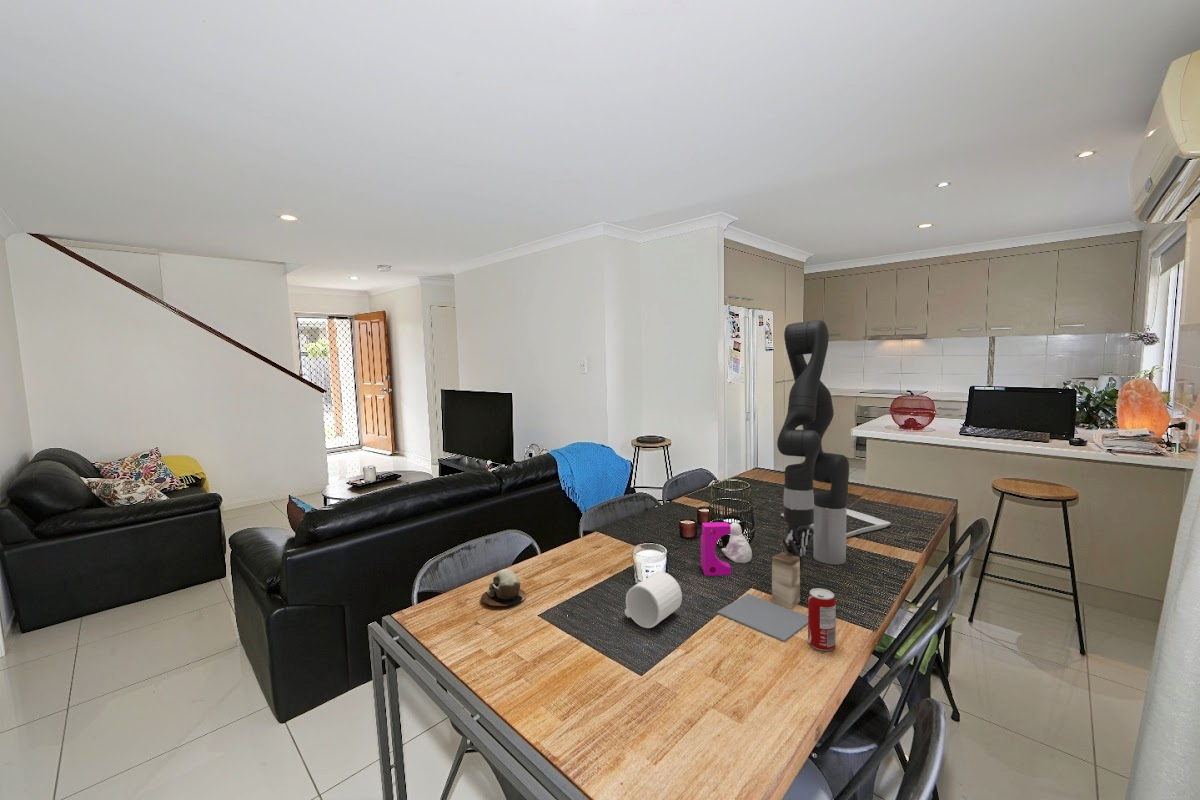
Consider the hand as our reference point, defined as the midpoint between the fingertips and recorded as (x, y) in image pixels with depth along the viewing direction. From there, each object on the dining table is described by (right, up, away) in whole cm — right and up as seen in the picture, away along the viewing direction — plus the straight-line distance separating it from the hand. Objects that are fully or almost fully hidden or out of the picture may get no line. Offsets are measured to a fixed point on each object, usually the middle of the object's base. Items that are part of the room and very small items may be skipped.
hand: (798, 568), depth 133 cm
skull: (-81, -11, 0) cm, 82 cm away
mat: (-13, -8, -11) cm, 19 cm away
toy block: (-23, +1, +15) cm, 27 cm away
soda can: (-4, -9, -24) cm, 26 cm away
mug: (-37, -4, -6) cm, 38 cm away
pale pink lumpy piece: (-10, -6, +23) cm, 26 cm away
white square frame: (+35, -3, +53) cm, 64 cm away
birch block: (-5, -8, -4) cm, 10 cm away
